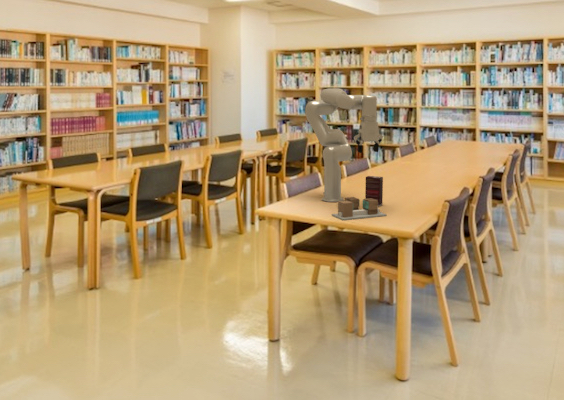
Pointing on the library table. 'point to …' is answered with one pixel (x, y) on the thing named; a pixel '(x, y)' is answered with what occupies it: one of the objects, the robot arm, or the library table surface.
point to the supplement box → (374, 188)
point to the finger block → (370, 205)
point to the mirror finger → (354, 201)
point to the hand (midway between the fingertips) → (368, 152)
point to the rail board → (353, 212)
